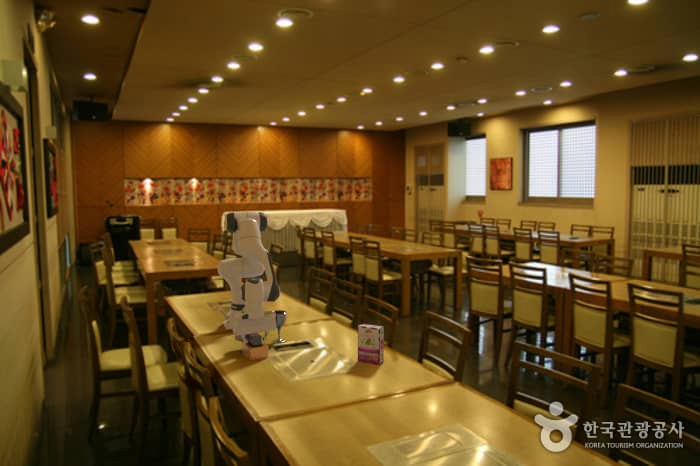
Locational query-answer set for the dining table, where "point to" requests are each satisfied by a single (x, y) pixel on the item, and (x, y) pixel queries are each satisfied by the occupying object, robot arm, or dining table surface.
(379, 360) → the candy bar box
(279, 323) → the wine glass
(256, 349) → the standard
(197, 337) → the dining table surface
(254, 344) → the dark brown upright block
